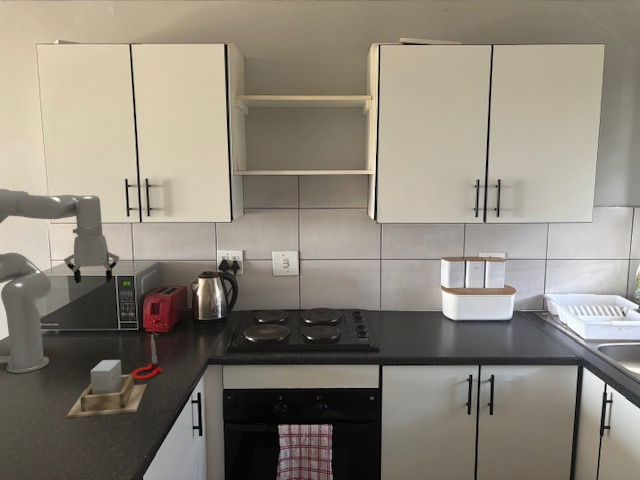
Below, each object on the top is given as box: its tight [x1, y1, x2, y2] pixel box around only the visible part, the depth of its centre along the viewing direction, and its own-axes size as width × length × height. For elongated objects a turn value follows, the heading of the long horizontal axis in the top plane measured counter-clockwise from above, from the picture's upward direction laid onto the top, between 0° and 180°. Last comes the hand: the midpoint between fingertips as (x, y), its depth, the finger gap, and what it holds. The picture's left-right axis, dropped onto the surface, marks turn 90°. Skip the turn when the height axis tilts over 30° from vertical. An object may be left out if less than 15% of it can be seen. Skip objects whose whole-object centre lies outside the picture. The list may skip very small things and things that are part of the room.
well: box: [66, 373, 147, 419], centre depth 136 cm, size 18×16×5 cm
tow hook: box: [130, 334, 164, 381], centre depth 154 cm, size 8×13×9 cm
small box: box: [90, 359, 123, 395], centre depth 136 cm, size 8×6×10 cm
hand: (93, 281), depth 158 cm, fingers open, 9 cm apart
